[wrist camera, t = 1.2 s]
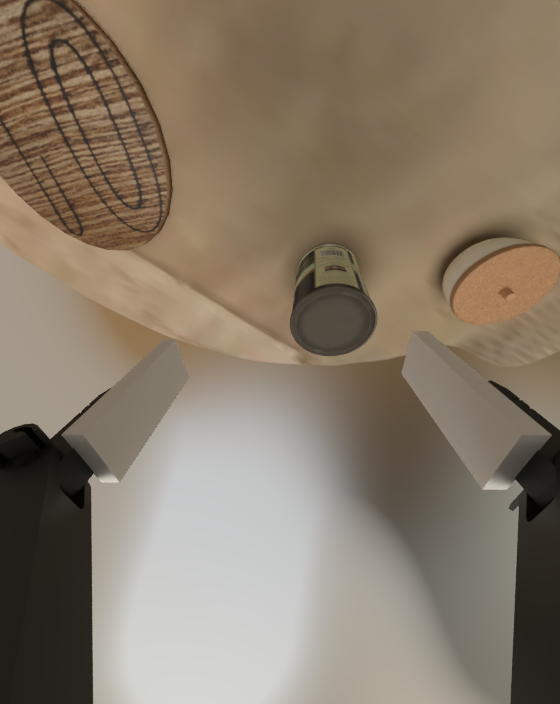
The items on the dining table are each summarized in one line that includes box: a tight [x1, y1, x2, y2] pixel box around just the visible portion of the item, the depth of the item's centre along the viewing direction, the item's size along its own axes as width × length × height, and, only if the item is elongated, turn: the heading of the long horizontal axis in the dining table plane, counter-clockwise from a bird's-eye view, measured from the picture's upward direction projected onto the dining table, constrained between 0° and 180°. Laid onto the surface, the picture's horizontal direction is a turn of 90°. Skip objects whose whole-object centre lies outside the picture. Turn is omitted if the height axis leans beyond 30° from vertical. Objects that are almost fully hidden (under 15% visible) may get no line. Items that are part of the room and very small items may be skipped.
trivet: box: [0, 0, 172, 250], centre depth 29 cm, size 25×25×2 cm
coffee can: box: [290, 244, 377, 356], centre depth 32 cm, size 10×10×14 cm
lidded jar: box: [442, 237, 560, 325], centre depth 30 cm, size 11×11×9 cm
